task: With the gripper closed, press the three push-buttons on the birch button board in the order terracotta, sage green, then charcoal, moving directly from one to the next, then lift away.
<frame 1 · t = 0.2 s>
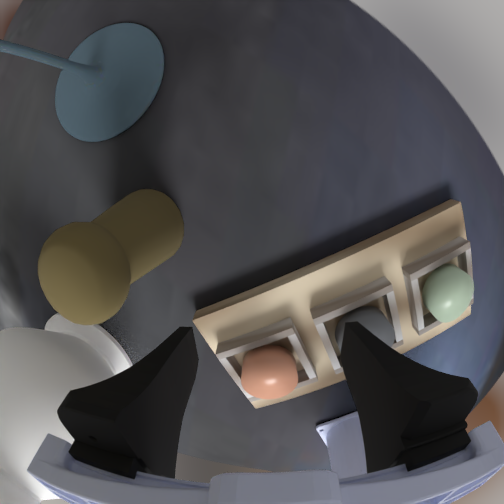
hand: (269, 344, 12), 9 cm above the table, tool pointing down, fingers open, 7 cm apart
charcoal button: (364, 336, 19), point 3 cm above the table, slide at 0.0 cm
decorative vase: (88, 357, 26), on the table
button board: (353, 314, 23), on the table
cocktail glass: (105, 79, 17), on the table
terracotta button: (269, 373, 21), point 3 cm above the table, slide at 0.0 cm
cork: (148, 226, 21), on the table
sage button: (448, 293, 18), point 3 cm above the table, slide at 0.0 cm
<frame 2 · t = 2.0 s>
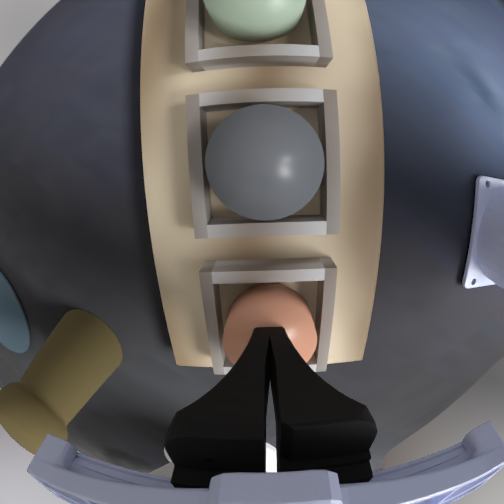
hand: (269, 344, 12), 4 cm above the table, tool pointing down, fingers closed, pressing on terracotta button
charcoal button: (264, 161, 11), point 3 cm above the table, slide at 0.0 cm
decorative vase: (223, 458, 23), on the table
button board: (264, 161, 14), on the table
terracotta button: (269, 332, 13), point 3 cm above the table, slide at 0.1 cm, touching gripper
cork: (91, 340, 19), on the table
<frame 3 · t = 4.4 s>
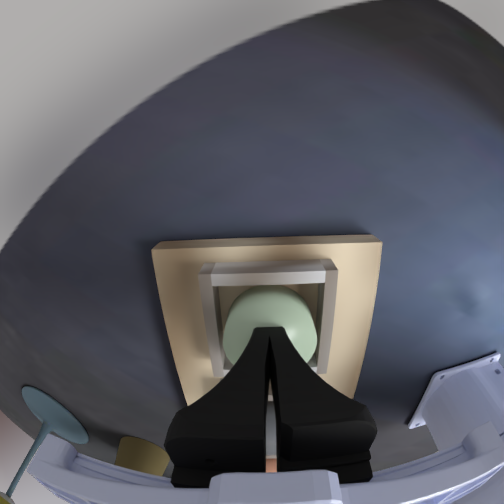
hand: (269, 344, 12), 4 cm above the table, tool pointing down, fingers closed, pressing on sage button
charcoal button: (270, 428, 16), point 3 cm above the table, slide at 0.0 cm
button board: (270, 393, 19), on the table
cocktail glass: (54, 415, 24), on the table
terracotta button: (270, 467, 19), point 3 cm above the table, slide at 0.7 cm
cork: (144, 449, 24), on the table
sage button: (269, 332, 13), point 3 cm above the table, slide at 0.3 cm, touching gripper
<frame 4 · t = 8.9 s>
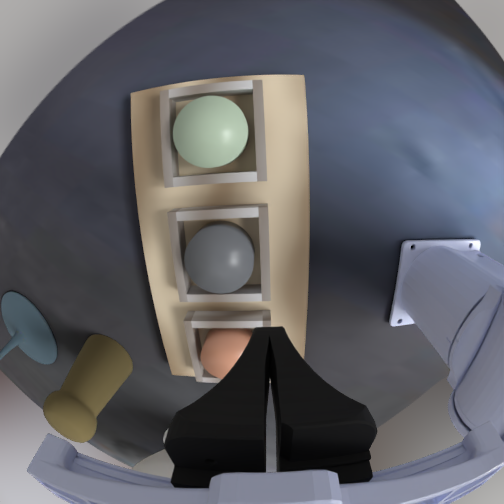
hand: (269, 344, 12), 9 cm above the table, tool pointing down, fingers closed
charcoal button: (220, 256, 18), point 3 cm above the table, slide at 0.7 cm
decorative vase: (209, 446, 30), on the table
button board: (225, 244, 21), on the table
cocktail glass: (28, 328, 26), on the table
terracotta button: (230, 352, 21), point 3 cm above the table, slide at 0.7 cm
cork: (108, 356, 26), on the table
sage button: (212, 132, 16), point 3 cm above the table, slide at 0.7 cm
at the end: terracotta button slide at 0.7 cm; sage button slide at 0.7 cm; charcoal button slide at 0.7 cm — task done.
